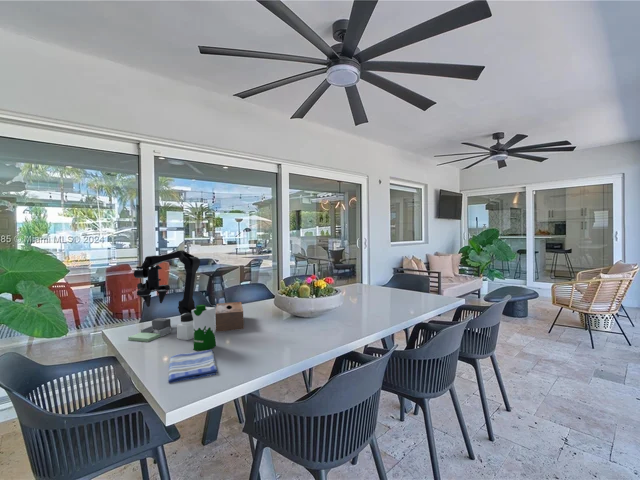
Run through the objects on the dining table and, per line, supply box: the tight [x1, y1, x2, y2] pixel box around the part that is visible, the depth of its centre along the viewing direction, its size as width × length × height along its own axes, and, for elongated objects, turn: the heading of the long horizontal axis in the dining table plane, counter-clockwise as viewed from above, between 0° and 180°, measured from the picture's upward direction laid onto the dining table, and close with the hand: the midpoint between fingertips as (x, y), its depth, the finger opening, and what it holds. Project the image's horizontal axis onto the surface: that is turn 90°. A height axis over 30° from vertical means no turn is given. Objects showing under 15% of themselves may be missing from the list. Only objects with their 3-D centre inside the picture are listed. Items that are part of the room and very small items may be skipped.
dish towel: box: [167, 349, 218, 384], centre depth 126 cm, size 17×24×3 cm
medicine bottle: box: [176, 313, 194, 341], centre depth 162 cm, size 7×7×12 cm
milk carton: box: [191, 303, 217, 352], centre depth 146 cm, size 9×9×20 cm
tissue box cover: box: [215, 301, 245, 333], centre depth 185 cm, size 26×14×10 cm, turn 16°
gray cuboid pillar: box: [151, 317, 171, 331], centre depth 180 cm, size 8×5×5 cm, turn 74°
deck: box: [127, 325, 171, 343], centre depth 165 cm, size 12×15×3 cm
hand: (154, 304), depth 183 cm, fingers open, 9 cm apart
